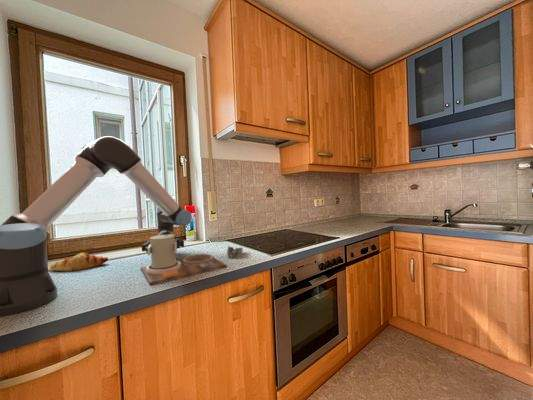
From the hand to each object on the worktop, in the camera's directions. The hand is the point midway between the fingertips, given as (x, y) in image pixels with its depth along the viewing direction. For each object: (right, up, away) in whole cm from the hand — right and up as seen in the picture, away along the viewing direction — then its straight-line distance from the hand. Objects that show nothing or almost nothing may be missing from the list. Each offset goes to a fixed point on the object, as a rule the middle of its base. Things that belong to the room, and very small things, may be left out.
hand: (162, 250), depth 90 cm
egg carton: (+25, -8, +25) cm, 36 cm away
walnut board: (+6, -9, +7) cm, 13 cm away
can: (-1, -7, +5) cm, 9 cm away
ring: (0, -9, +3) cm, 9 cm away
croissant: (-42, -11, +13) cm, 46 cm away
